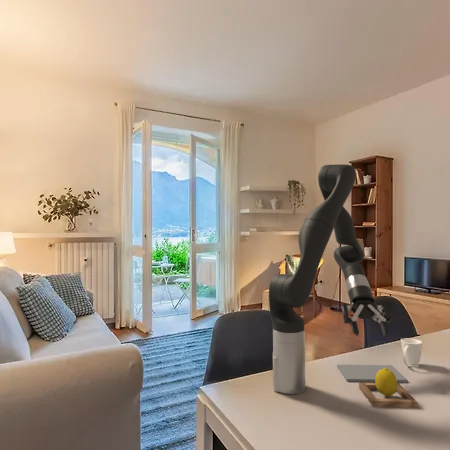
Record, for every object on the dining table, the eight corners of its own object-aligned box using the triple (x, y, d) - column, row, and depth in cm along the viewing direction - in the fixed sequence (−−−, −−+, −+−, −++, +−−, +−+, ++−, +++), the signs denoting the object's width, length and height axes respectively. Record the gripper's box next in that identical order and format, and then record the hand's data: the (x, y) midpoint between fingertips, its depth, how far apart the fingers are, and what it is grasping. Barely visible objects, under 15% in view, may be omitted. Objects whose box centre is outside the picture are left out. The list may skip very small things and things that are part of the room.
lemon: (400, 402, 95) (399, 372, 95) (378, 400, 96) (377, 371, 96) (394, 393, 100) (393, 364, 101) (373, 392, 102) (373, 363, 102)
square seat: (372, 406, 93) (372, 400, 93) (359, 387, 104) (358, 382, 104) (417, 407, 92) (417, 401, 92) (398, 388, 104) (398, 383, 104)
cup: (426, 364, 122) (426, 340, 122) (416, 372, 115) (415, 347, 115) (405, 359, 127) (404, 336, 127) (393, 366, 120) (393, 342, 121)
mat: (346, 381, 109) (346, 379, 109) (337, 366, 121) (337, 364, 121) (407, 382, 108) (407, 379, 108) (391, 367, 120) (391, 365, 120)
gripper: (339, 284, 119) (350, 328, 107) (383, 284, 118) (398, 328, 107) (336, 297, 124) (345, 340, 113) (377, 297, 123) (392, 340, 112)
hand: (371, 334), depth 110 cm, fingers open, 8 cm apart
